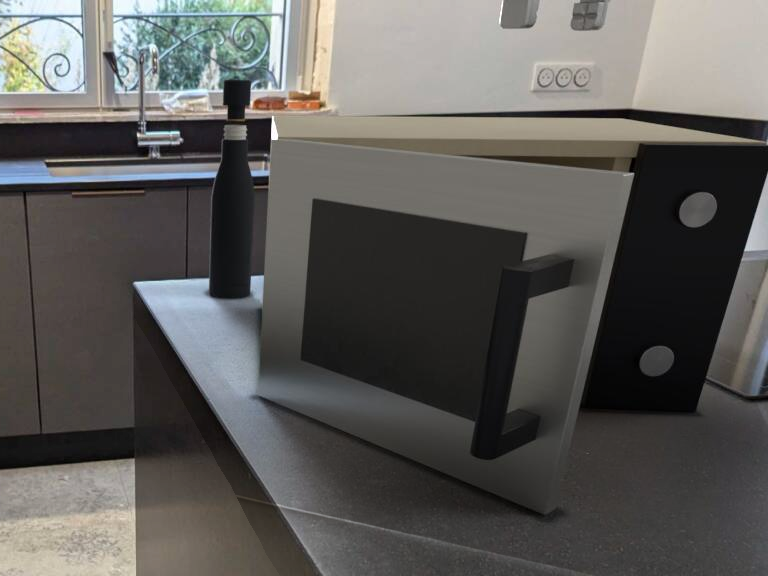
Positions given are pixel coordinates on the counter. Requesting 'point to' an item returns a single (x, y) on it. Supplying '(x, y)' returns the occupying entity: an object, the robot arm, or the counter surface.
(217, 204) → the black screw-cap bottle
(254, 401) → the counter surface
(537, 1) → the robot arm
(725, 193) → the microwave
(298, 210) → the microwave door
